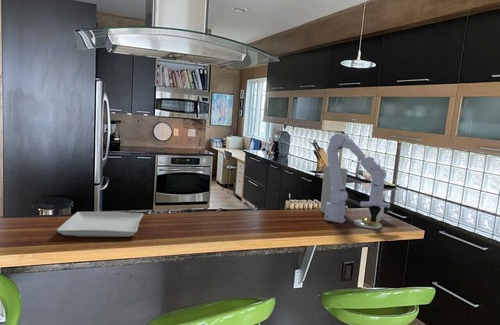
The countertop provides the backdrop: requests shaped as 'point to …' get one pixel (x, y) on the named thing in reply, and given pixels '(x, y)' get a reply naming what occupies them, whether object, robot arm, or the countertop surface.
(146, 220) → the countertop surface
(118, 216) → the square plate
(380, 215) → the syrup box
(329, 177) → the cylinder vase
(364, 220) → the gold lugged disc
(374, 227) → the cap plate
